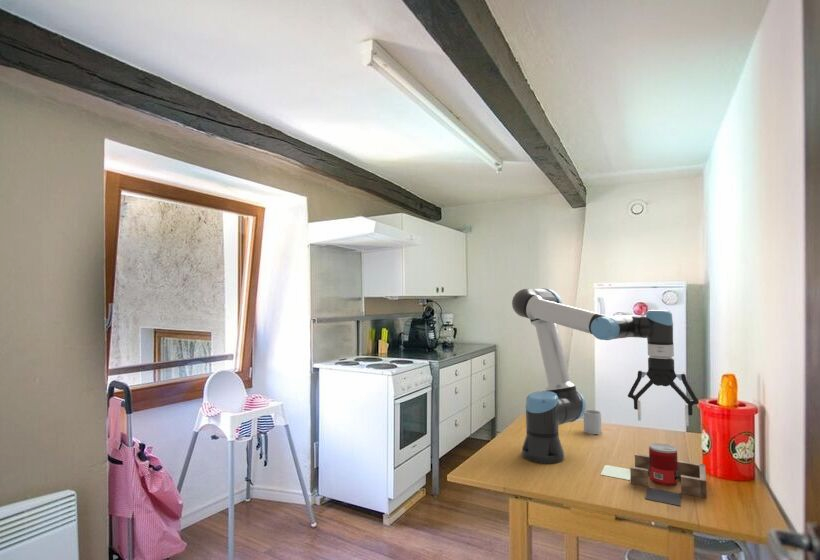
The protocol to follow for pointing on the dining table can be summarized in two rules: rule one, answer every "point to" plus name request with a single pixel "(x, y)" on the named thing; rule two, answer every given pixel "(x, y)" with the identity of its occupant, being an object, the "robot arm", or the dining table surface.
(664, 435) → the dining table surface
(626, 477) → the pad
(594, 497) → the dining table surface
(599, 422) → the cup
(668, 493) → the mat
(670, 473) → the canned food
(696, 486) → the wooden walled channel
